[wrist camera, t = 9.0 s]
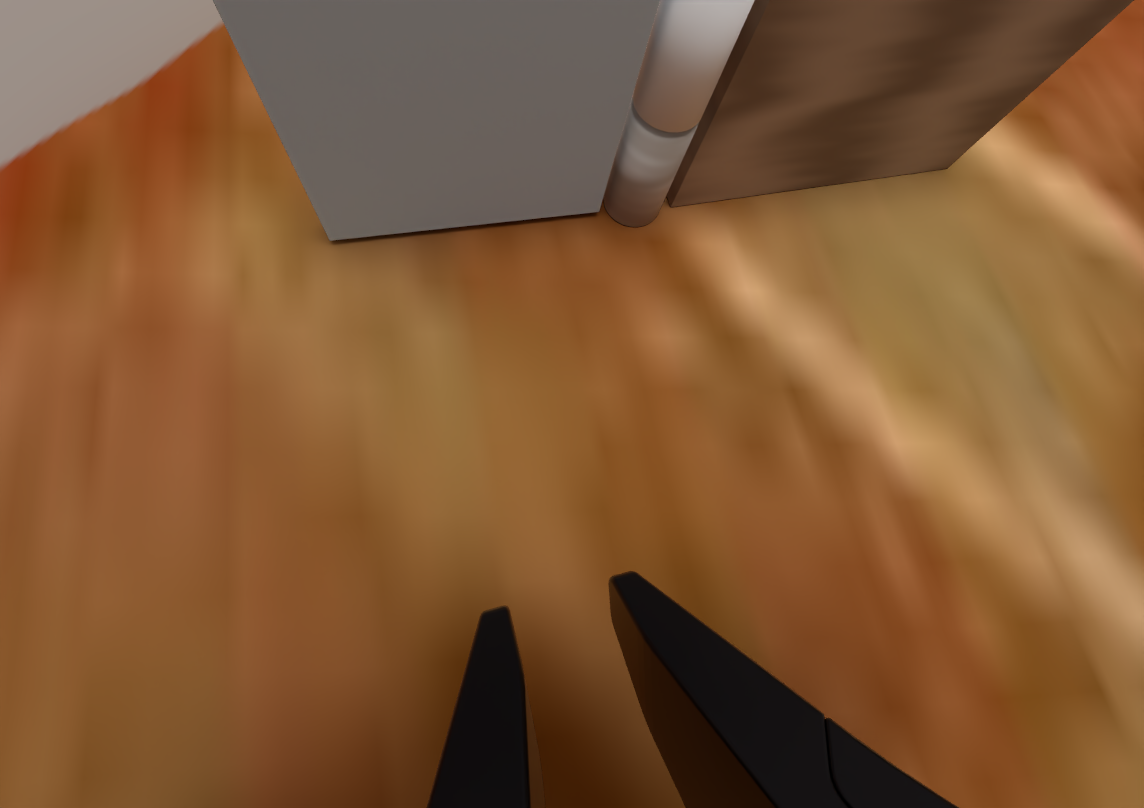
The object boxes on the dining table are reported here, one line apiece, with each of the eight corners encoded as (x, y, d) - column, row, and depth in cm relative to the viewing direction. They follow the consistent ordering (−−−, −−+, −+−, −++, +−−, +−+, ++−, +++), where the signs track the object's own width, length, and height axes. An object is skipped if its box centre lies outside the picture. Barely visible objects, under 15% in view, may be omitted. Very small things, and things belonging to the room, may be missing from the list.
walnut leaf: (612, 230, 23) (695, -13, 14) (597, 181, 24) (666, -84, 14) (953, 181, 26) (1212, -43, 17) (932, 138, 27) (1171, -100, 17)
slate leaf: (653, 170, 24) (754, -86, 15) (668, 219, 23) (783, -17, 14) (325, 201, 21) (198, -83, 12) (331, 257, 21) (202, 1, 12)
